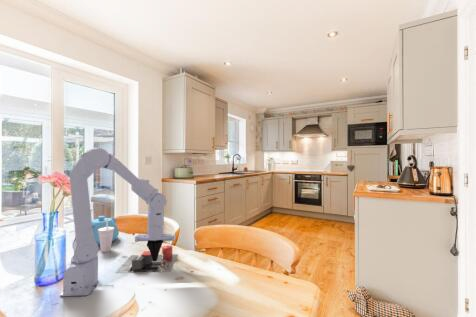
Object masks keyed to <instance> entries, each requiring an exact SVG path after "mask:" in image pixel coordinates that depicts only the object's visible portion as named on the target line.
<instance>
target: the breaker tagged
mask: <svg viewBox="0 0 476 317" xmlns="http://www.w3.org/2000/svg"><path fill="white" fill-rule="evenodd" d="M140 255H141V257H144V264H150V263H151V262H152V261H153V260H152V255H151V253H150V250H148V251H147V250H146V251H143V252H142V253H141V254H140Z"/></svg>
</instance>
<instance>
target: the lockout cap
mask: <svg viewBox="0 0 476 317" xmlns="http://www.w3.org/2000/svg"><path fill="white" fill-rule="evenodd" d="M172 254H173V246H172V245H170V244H169V245H163V246H161V255H162V258H163V259H170V258H172Z"/></svg>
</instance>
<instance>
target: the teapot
mask: <svg viewBox="0 0 476 317" xmlns="http://www.w3.org/2000/svg"><path fill="white" fill-rule="evenodd" d="M106 219H108V227H114V231H113V237H112V242H113V241H115V240H116V239H117V238H118V237H119V233H120V232H119V228H118V225H117V224H116V223H117V219H116V218H115V217H106V216H105V215H99V216H97V218H96V219H91V221H92V229H93V234H94V238H95V241H96V243H97V244H98V246H100V239H99V233H98V229H100V228H103V227H106Z"/></svg>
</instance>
